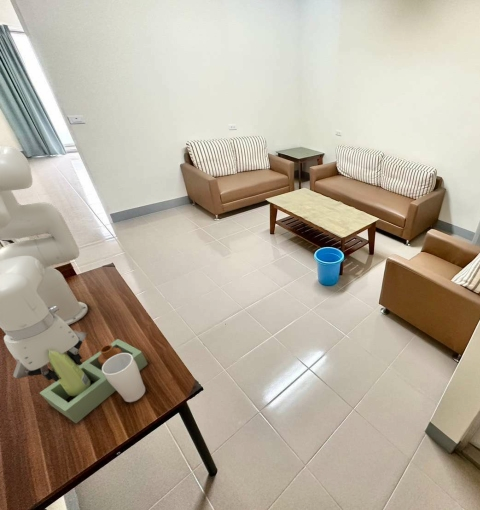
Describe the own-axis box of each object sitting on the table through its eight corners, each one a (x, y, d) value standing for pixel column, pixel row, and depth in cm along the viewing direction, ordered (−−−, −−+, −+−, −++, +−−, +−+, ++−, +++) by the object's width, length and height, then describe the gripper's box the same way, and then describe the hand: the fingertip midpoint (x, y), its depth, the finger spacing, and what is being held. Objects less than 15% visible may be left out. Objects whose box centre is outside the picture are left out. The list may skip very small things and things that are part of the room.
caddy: (51, 405, 74) (39, 392, 71) (124, 351, 90) (117, 338, 87) (76, 423, 71) (65, 411, 68) (147, 364, 87) (141, 351, 84)
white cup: (128, 410, 75) (108, 379, 67) (116, 396, 78) (96, 365, 70) (153, 391, 80) (138, 360, 72) (141, 379, 83) (125, 348, 75)
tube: (59, 396, 73) (23, 350, 62) (74, 378, 77) (42, 333, 66) (82, 397, 73) (49, 351, 63) (96, 379, 78) (67, 334, 67)
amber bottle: (104, 374, 83) (89, 352, 77) (122, 360, 87) (109, 338, 81) (116, 381, 82) (102, 359, 76) (133, 367, 86) (122, 345, 80)
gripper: (64, 295, 68) (92, 341, 78) (-35, 344, 55) (15, 392, 65) (83, 306, 66) (110, 351, 76) (-14, 359, 53) (34, 406, 63)
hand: (66, 369), depth 71 cm, fingers closed on tube, 4 cm apart
